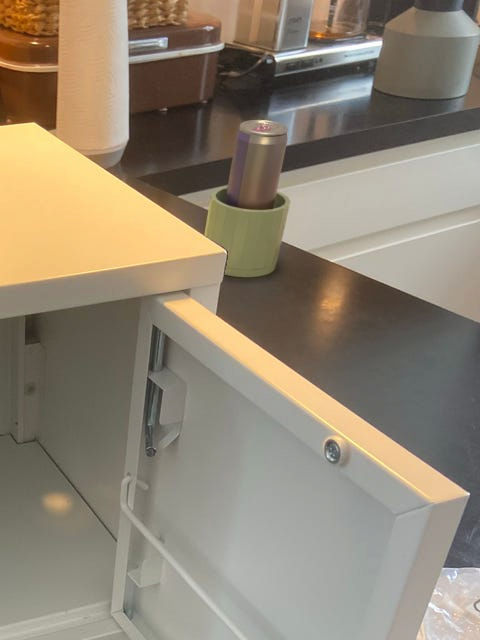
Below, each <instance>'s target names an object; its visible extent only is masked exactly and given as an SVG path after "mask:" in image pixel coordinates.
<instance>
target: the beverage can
mask: <svg viewBox="0 0 480 640" xmlns="http://www.w3.org/2000/svg"><path fill="white" fill-rule="evenodd" d="M288 130H289V128H288V126H287V125H285V124H284V123H281V122H279V121H278V122H277V121H274V120H273V121H272V120H266V119H265V120H264V119H263V120H262V119H252V120H245V121H243V122H241V123H240V124H239V128H238V130H237V133H236V135H235V141H234V148H233V153H232V159H231V164H230V171H229V176H228V181H227V186H228V187H227V193H226V199H225V204H227V205H229V206H233V207H237V208H241V209H249V210H269V209H273V207H274V203H275V198H276V193H277V191H278V187H279V183H280V178H281V173H282V168H283V164H284V158H285V153H286V148H287V145H288V132H289V131H288Z"/></svg>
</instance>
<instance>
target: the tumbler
mask: <svg viewBox="0 0 480 640" xmlns="http://www.w3.org/2000/svg"><path fill="white" fill-rule="evenodd" d="M227 187H228V185H226V186H222V187H221V186H220V187H218V188H216V189H214V190H213V191H212V192H211V193H210V199H209V203H208V210H207V216H206V222H205V229H204V235H205V236H207V237H208V238H209V239H211V240H213V241H214V242H216V243H218V244H219V245H221V246H223V247H224V248H225V249H226V250H227V251H228V260H227V266H226V270H225V274H224V275H223V276H229V277H234V278H258V277H263V276H267V275H270V274H272V273H273V272H274V271H275V270H276V268H277V264H278V261H279V256H280V252H281V248H282V242H283V238H284V235H285V228H286V224H287V220H288V215H289V212H290V211H289V210H290V205H291V200H290V198H289V197H288V196H287V195H286V194H284V193H282V192H280V191H278V190H277V193H276V198H275V203H274V207H273V209H269V210H249V209H241V208H237V207H233V206H229V205H227V204H225V199H226V193H227ZM204 235H203V236H204Z"/></svg>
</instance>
